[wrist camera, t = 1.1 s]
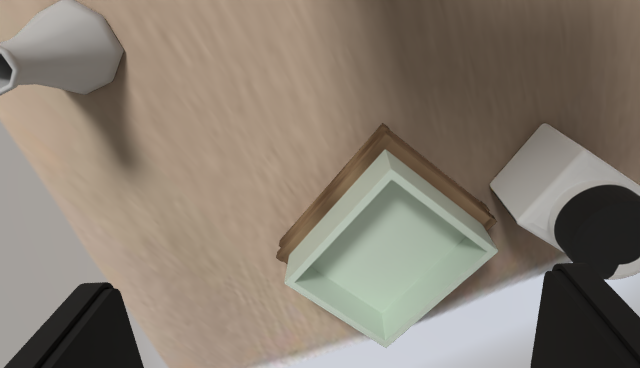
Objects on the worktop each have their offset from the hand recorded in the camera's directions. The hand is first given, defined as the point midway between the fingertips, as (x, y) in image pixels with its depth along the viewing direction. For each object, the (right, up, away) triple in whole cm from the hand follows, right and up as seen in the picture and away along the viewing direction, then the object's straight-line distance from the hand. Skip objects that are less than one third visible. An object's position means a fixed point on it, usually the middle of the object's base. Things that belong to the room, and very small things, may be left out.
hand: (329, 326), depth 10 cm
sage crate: (+5, -2, +29) cm, 29 cm away
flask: (-20, +14, +26) cm, 36 cm away
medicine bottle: (+20, +4, +29) cm, 35 cm away
